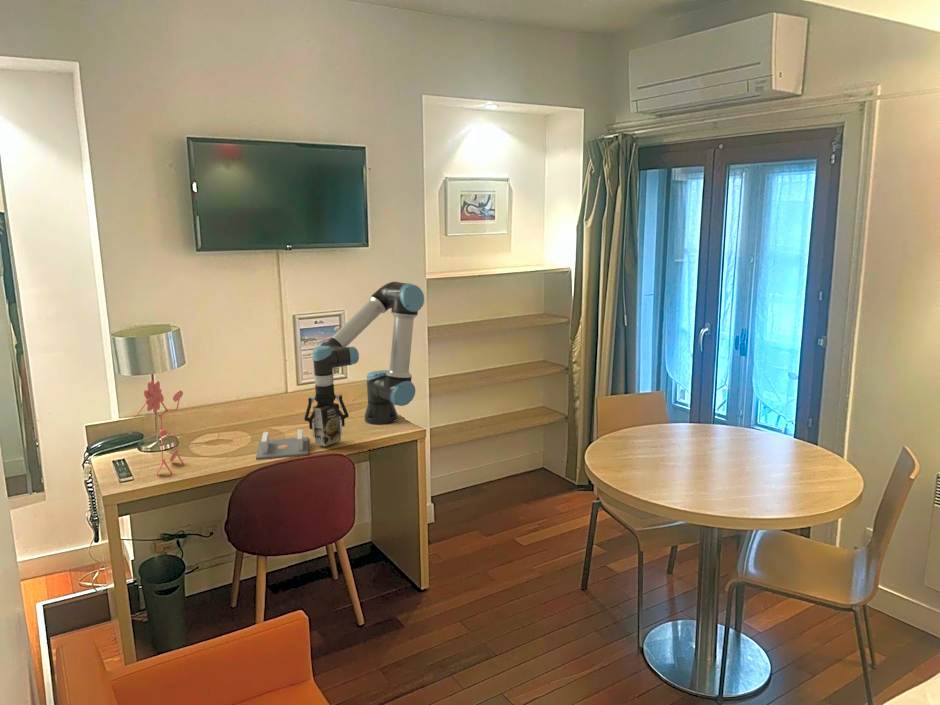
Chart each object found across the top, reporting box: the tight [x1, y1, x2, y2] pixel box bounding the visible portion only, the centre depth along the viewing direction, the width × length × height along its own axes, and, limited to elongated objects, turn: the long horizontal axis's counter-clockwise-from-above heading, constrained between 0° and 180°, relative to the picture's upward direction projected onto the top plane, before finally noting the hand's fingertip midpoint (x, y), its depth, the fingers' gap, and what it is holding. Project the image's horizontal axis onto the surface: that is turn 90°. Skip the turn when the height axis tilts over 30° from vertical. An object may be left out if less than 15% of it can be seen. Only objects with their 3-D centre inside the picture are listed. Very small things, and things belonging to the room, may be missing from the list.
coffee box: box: [312, 402, 342, 447], centre depth 285 cm, size 9×6×16 cm
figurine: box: [134, 379, 185, 475], centre depth 259 cm, size 15×26×35 cm, turn 175°
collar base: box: [255, 428, 309, 460], centre depth 282 cm, size 20×20×6 cm
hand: (327, 434), depth 286 cm, fingers closed on coffee box, 11 cm apart
